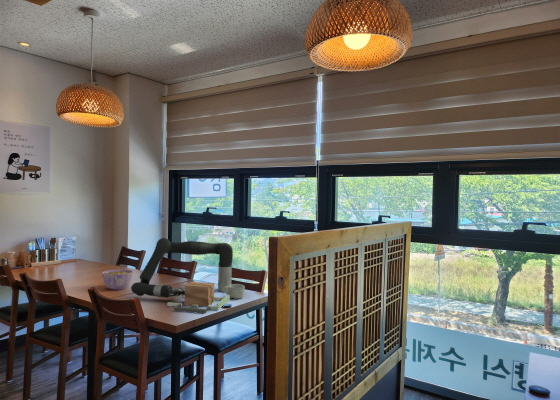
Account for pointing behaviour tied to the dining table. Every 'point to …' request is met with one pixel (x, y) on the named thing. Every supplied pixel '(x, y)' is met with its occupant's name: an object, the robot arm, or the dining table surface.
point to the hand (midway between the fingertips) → (188, 292)
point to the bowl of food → (117, 278)
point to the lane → (195, 308)
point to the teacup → (235, 290)
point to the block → (199, 293)
